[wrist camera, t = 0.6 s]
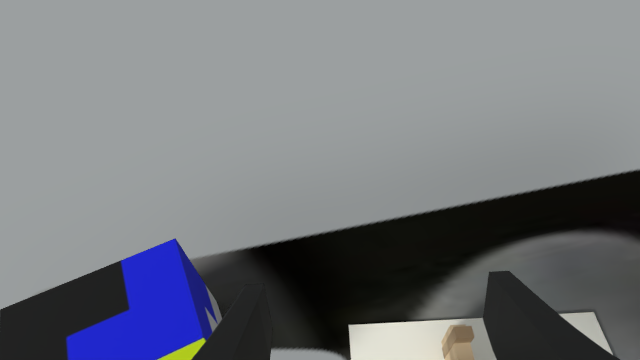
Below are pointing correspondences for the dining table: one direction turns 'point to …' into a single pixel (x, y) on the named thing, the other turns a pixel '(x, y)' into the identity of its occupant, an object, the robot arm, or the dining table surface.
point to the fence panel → (458, 343)
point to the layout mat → (440, 338)
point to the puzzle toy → (116, 313)
